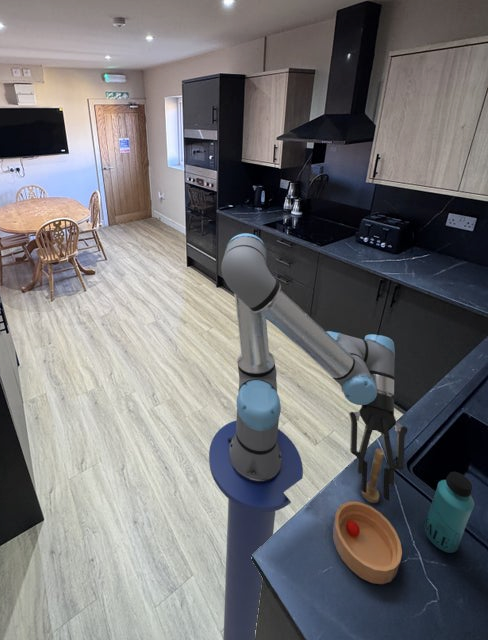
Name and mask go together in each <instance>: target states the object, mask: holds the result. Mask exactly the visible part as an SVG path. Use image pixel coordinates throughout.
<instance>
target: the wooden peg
mask: <svg viewBox="0 0 488 640" xmlns="http://www.w3.org/2000/svg"><path fill="white" fill-rule="evenodd" d="M384 456H385V451H384V449H381V448H379V447H378V448H375V451H374V455H373V460H372V465H371V468H370V473H369V477H368V480H367V492H366V493H365V492H363V491H362V490H361V489H360V493H361V495H362V497H363V498H364V499H365V501H367V502H369V503H371V504H376V503H378V502H379V500H380V493H379V490H378V489H377V486H378V481H379V477H380V472H381V467H382V465H383V460H384Z"/></svg>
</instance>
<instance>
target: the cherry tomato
mask: <svg viewBox="0 0 488 640" xmlns="http://www.w3.org/2000/svg"><path fill="white" fill-rule="evenodd" d="M346 529H347V531H348V533H349V534H350V535H351V536H354V537H356V536H358V535H359V533H360V530H359V526H358V525H357V523H355V522H354V521H348V522H347V524H346Z"/></svg>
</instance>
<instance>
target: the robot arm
mask: <svg viewBox="0 0 488 640" xmlns="http://www.w3.org/2000/svg"><path fill="white" fill-rule="evenodd" d="M267 253H268V251H267V247H266V245H265V243H264V242H263V240H262V239H261V238H260V237H259V236H257V235H255V234H252V233H240V234H237V235H234V236H233V237H232V238H230V240H229V241H228V242H227V244H226V246H225V250H224V255H223V259H222V261H221V264H220V265H221V269H220V270H221V276H222V278H223V281H224V282H225V283H226V285H227V287H228V288H229V289H230V290H231V292H232V293H233V296H234V303H235V311H236V312H235V313H236V320H237V321H236V322H237V330H238V339H239V347H240V354H239V355H238V356H237V360H236V362H237V370H238V391H237V392H238V393H237V396H236V420H237V421H236V420H235V421H236V433H235V435H234V437H233V438H228V441H231V443H230V446H229V459H230V463H231V465H232V467H233V469H234V470H235V472H236V473H237V474H238V475H239V476H240V477H242V478H243V479H245V480H247V481H249V482H252V483H257V484H263V483H268V482H270V481H272V480H274V479H275V478H276V477H277V476H278V474H279V472H280V469H281V463H282V456H281V452H280V449H279V446H278V443H277V435H278V429H279V425H280V424H279V423H280V416H281V411H282V410H281V409H282V407H281V400H280V396H279V394H278V384H277V383H278V382H277V376H278V375H277V368H276V359H275V357H274V355H273V354H272V353H271V352H270V348H269V337H268V325H267V324H268V323H267V320H269V322H270V323H272V324H273V325H274V326H275V327H276V328H277V329H278V330H279V331H280V332H281V333H283V334H284V335H285V336H286V337H287V338H288V339H289V340H290V341H291V342H292V343H294V344H295V346H297V347H298V348H299V349H300V350H301V351H302V352H303V353H305V354H306V355H307V356H308V358H310V359H311V360H312V361H313V362H314V363H315V364H316V365H318V366H319V367H320V368H321V369H322V370H324V372H325V373H327V374H328V375H329V376H330V377H331V378H332V379H333V380H334V381H335V382H336V383H337V384H338V385H339V386H340V388H341V392H342V393H343V395H344V397H345V399H346V400H347V401H348V402H349V403H351V404H353V405H357V406H361V407H360V409H359V411H349V412H348V416H349V419H350V444H349V445H350V447H349V448H350V449H349V451H350V453H351V454H352V455H353V456H355V457H356V458H357V468H356V469H357V470H356V471H357V473H358V475H361V483H360V484H361V486H360V491H361V490H362V491H363V492H365V493H366V492H367V484H368V461H366V460H365V458H366V454H367V451H368V446H369V443H370V439H371V437H372V433H373V431H375V432H376V431H377V432H378V433H380V436H381V439H382V444H383V451H384V456H385V461H386V466H387V467H385V466H383V485H382V486H383V487H382V489H383V490H382V492H383V493H382V498H383V499H384V500H385V501H388V502H390V491H391V490H390V486H395V478H396V477H395V472H396V471H400V470H401V471H403V470H404V468H405V467H404V466H405V465H404V464H405V438H406V435H407V433H408V431H409V429H408V427H407V426H404V425H402V424H401V423H399V422H397V420H396V419H397V418H395V399H394V397H393V396H395V362H396V361H395V359H396V351H395V350H396V349H395V343H394V341H393V339H391V338H390V337H388V336H385V335H379V334H371V333H370V334H366V335H365V336H364V339H362V338H358V337H355V336H351V335H347V334H344V333H341V332H335V331H330V330H327V331H326V330H325V329H324V328H323V327H322V326H321V325H320V324H318V322H316V321H315V320H314V319H313V318H312V317H311V316H310V315H309V314H308V313H307V312H306V311H304V309H303V308H301V307H300V306H299V305H298V304H297V303H296V302H295V301H293V299H291V298H290V297H289V296H288V295H287V294H286V293H285V292H284V291H282V285H281V283H280V282H279V281H278V280H277V279H276V278H275V277H274V276H273V274H272V273H271V272H270V270H269V268H268V262H267ZM360 417H361V419H362V422H363V423H364V425H365V426H364V429H363V430H364V432H363V435H362V438H361V442H360V445H359V450H358V421H360ZM394 427H395V429H394V430H395V432H396V439H395V441H396V442H395V460H394V455H393V449H392V445H391V440H390V438H391V437H390V436H391V435H390V431H391V430H392V428H394Z"/></svg>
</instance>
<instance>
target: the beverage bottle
mask: <svg viewBox="0 0 488 640" xmlns="http://www.w3.org/2000/svg"><path fill="white" fill-rule="evenodd" d="M472 490H473V484H472V482H471V481H470V480H469V478H468V477H466V476H465V475H464V474H463V473H460V472H458V471H450V472H449V473H448V475H447V476H446V479H441V480H440V481H438V483H437V486H436V489H435V491H434V493H433V495H432V500H431V503H430V505H429V508H428V510H427V514H426V518H425V520H424V531H425V534H426V536H427V538H428V540H429V541H430V542H431V544H433V545H434V546H435V547H436V548H438V549H439V550H441V551H443V552H445V553H449V554H450V553H455V552H457V551H458V550H459V547H460V544H461V541H462V539H463V536H464V533H465V530H466V527H467V524H468V521H469V519H470V516H471V514H472V511H474V508H475V501H474V499H473V497H472Z"/></svg>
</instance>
